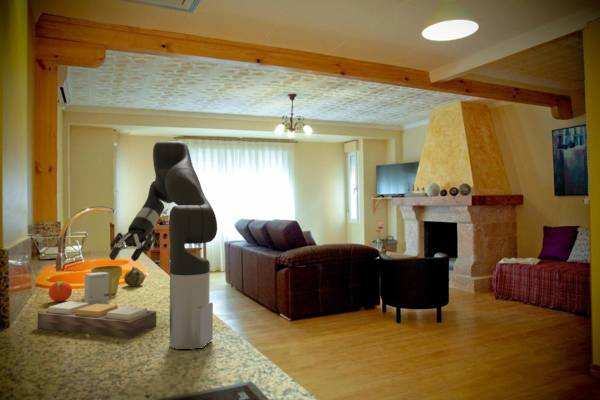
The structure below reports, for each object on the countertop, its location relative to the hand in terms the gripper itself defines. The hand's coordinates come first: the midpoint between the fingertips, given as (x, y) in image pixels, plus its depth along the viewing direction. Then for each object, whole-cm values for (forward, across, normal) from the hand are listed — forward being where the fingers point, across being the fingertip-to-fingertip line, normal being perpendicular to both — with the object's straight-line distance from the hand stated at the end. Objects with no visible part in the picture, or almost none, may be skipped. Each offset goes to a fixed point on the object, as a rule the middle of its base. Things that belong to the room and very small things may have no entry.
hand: (122, 259), depth 139 cm
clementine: (+13, -22, +8) cm, 27 cm away
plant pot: (+3, -16, +19) cm, 25 cm away
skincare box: (+19, 0, +3) cm, 19 cm away
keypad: (+27, +11, -6) cm, 30 cm away
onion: (-9, -16, +30) cm, 35 cm away
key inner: (+25, +21, -8) cm, 33 cm away
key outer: (+25, +2, -8) cm, 26 cm away
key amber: (+25, +11, -8) cm, 28 cm away
